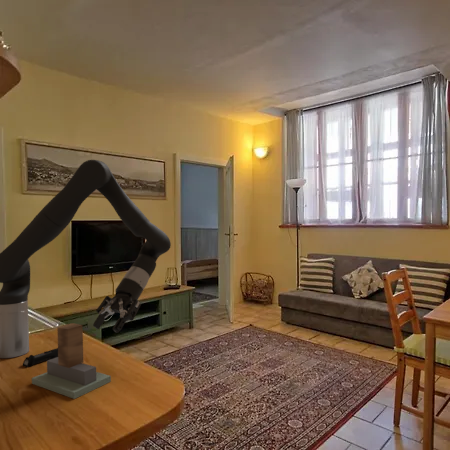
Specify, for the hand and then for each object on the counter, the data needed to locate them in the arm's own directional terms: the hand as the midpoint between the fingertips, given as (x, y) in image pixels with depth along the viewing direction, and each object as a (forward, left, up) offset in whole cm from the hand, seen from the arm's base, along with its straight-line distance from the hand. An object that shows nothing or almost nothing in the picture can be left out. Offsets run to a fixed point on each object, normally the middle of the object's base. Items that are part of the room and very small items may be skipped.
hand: (105, 329), depth 106 cm
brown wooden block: (0, -11, -6) cm, 13 cm away
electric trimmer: (-23, -4, -12) cm, 26 cm away
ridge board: (0, -12, -11) cm, 16 cm away
